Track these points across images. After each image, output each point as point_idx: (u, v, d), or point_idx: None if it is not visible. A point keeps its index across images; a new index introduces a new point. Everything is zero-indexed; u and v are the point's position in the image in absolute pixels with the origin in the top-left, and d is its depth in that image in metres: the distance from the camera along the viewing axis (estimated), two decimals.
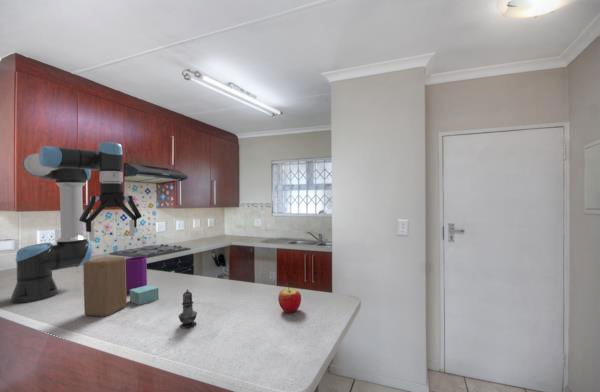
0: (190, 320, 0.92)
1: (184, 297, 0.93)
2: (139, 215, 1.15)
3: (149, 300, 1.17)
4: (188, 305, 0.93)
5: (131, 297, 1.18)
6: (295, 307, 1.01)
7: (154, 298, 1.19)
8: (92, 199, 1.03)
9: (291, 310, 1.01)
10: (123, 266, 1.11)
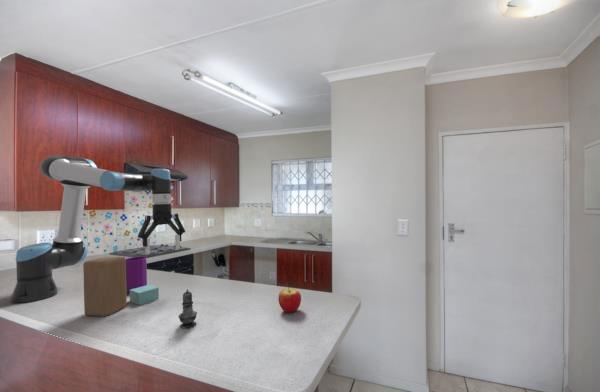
0: (190, 320, 0.92)
1: (184, 297, 0.93)
2: (183, 230, 1.33)
3: (149, 300, 1.17)
4: (188, 305, 0.93)
5: (131, 297, 1.18)
6: (295, 307, 1.01)
7: (154, 298, 1.19)
8: (148, 218, 1.20)
9: (291, 310, 1.01)
10: (123, 266, 1.11)
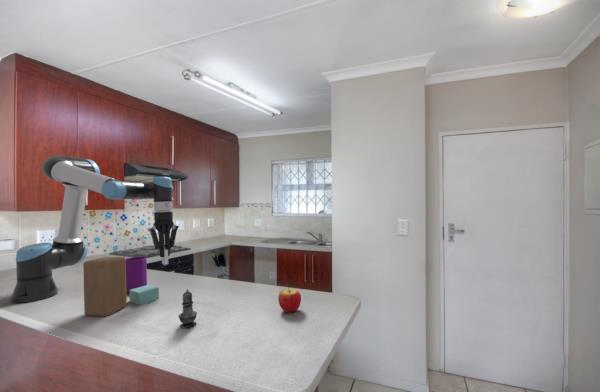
0: (190, 320, 0.92)
1: (184, 297, 0.93)
2: (172, 244, 1.29)
3: (149, 300, 1.17)
4: (188, 305, 0.93)
5: (131, 297, 1.18)
6: (295, 307, 1.01)
7: (154, 298, 1.19)
8: (152, 231, 1.22)
9: (291, 310, 1.01)
10: (123, 266, 1.11)
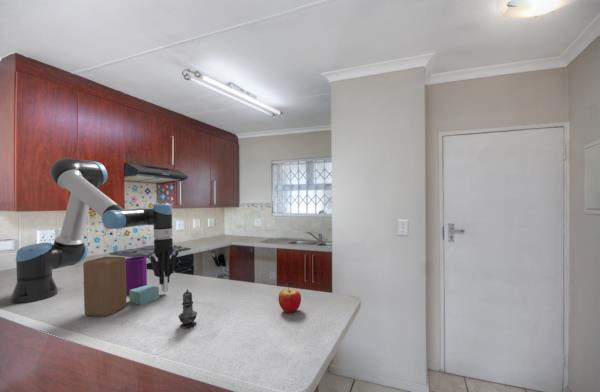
0: (190, 320, 0.92)
1: (184, 297, 0.93)
2: (172, 271, 1.28)
3: (150, 300, 1.18)
4: (188, 305, 0.93)
5: (131, 297, 1.17)
6: (295, 307, 1.01)
7: (155, 298, 1.19)
8: (152, 259, 1.21)
9: (291, 310, 1.01)
10: (123, 266, 1.11)
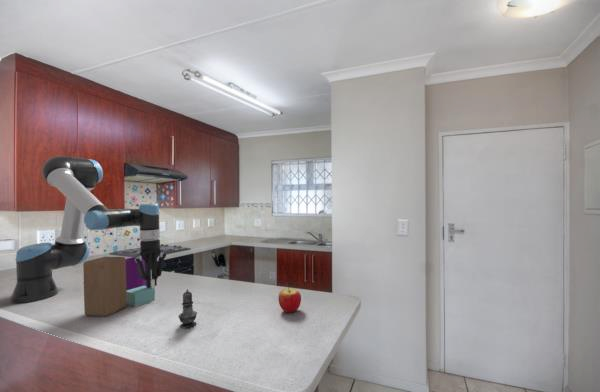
0: (190, 320, 0.92)
1: (184, 297, 0.93)
2: (159, 273, 1.24)
3: (145, 301, 1.16)
4: (188, 305, 0.93)
5: None
6: (295, 307, 1.01)
7: (150, 299, 1.18)
8: (138, 261, 1.17)
9: (291, 310, 1.01)
10: (123, 266, 1.11)
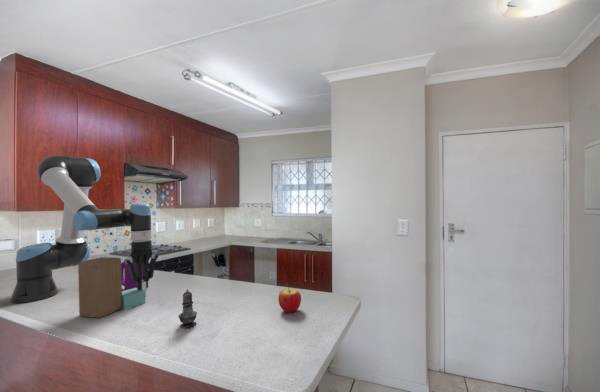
0: (190, 320, 0.92)
1: (184, 297, 0.93)
2: (151, 275, 1.21)
3: (135, 304, 1.13)
4: (188, 305, 0.93)
5: None
6: (295, 307, 1.01)
7: (140, 301, 1.15)
8: (128, 263, 1.14)
9: (291, 310, 1.01)
10: (118, 267, 1.09)
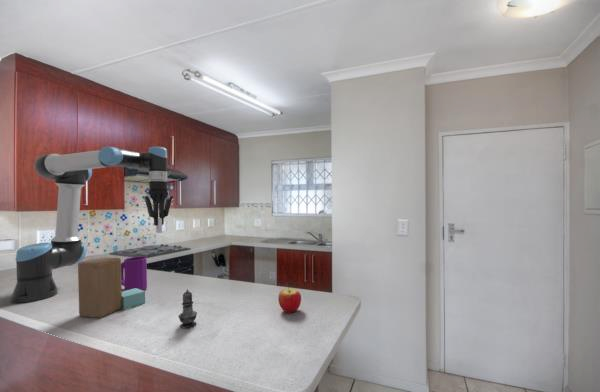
0: (190, 320, 0.92)
1: (184, 297, 0.93)
2: (166, 214, 1.32)
3: (135, 304, 1.13)
4: (188, 305, 0.93)
5: None
6: (295, 307, 1.01)
7: (140, 302, 1.15)
8: (147, 199, 1.25)
9: (291, 310, 1.01)
10: (118, 267, 1.09)
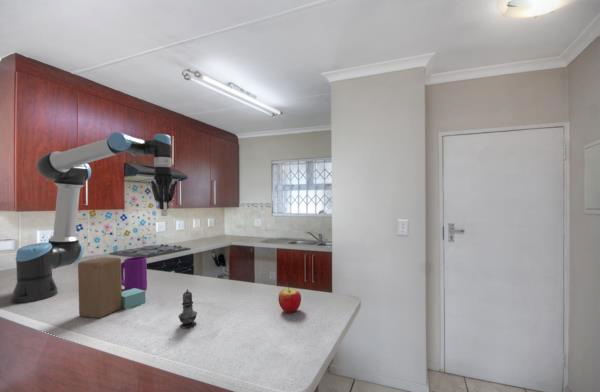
0: (190, 320, 0.92)
1: (184, 297, 0.93)
2: (171, 198, 1.38)
3: (136, 304, 1.13)
4: (188, 305, 0.93)
5: None
6: (295, 307, 1.01)
7: (141, 302, 1.15)
8: (153, 183, 1.31)
9: (291, 310, 1.01)
10: (118, 267, 1.09)
